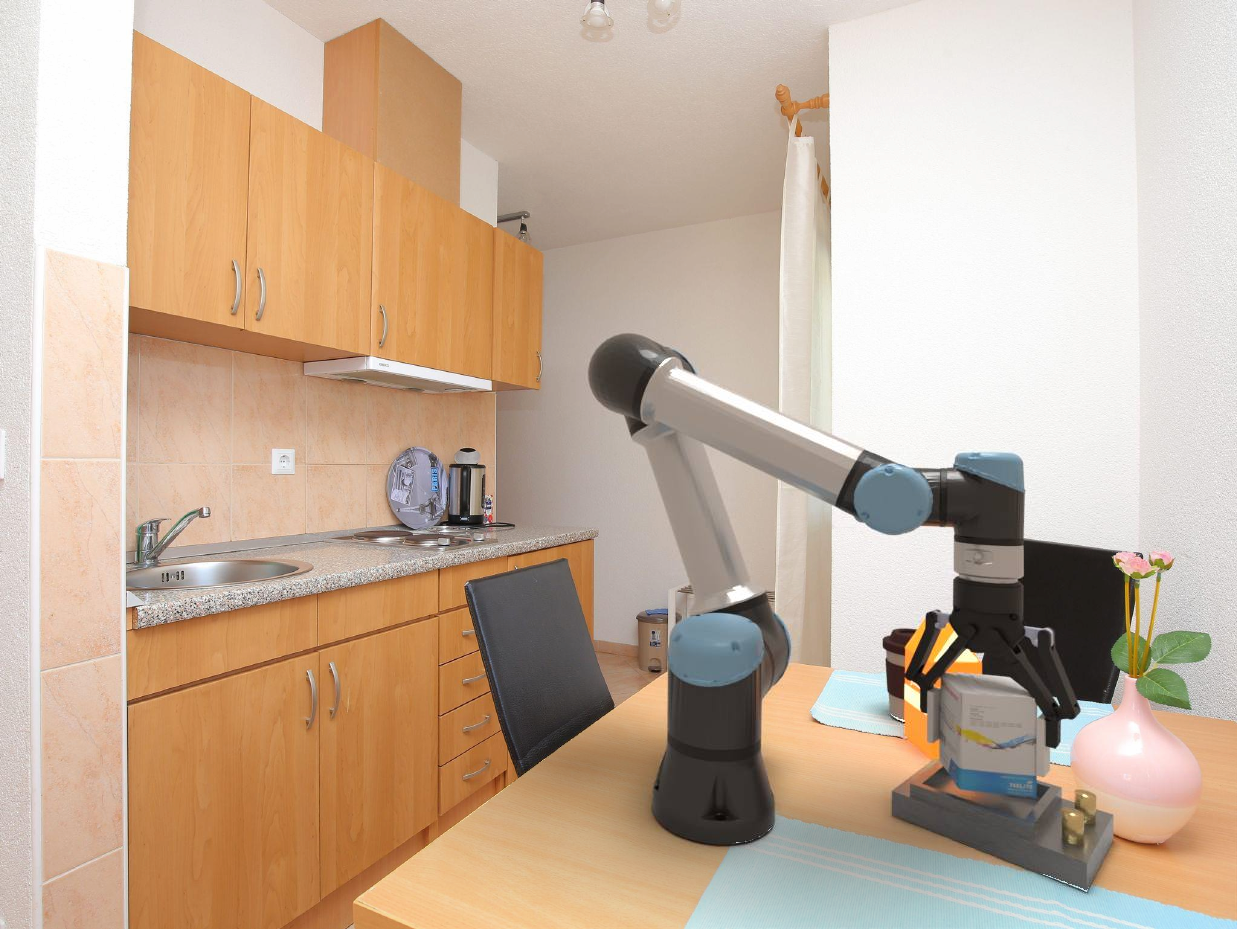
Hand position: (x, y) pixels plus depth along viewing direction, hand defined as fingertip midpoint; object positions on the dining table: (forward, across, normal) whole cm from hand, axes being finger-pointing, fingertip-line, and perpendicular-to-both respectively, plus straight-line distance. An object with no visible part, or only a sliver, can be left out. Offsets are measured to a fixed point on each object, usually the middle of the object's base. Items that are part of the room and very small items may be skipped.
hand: (985, 755), depth 79 cm
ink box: (+3, 0, 0) cm, 3 cm away
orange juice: (+8, -12, +19) cm, 24 cm away
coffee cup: (+8, -20, +28) cm, 35 cm away
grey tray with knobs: (+8, +2, 0) cm, 8 cm away
